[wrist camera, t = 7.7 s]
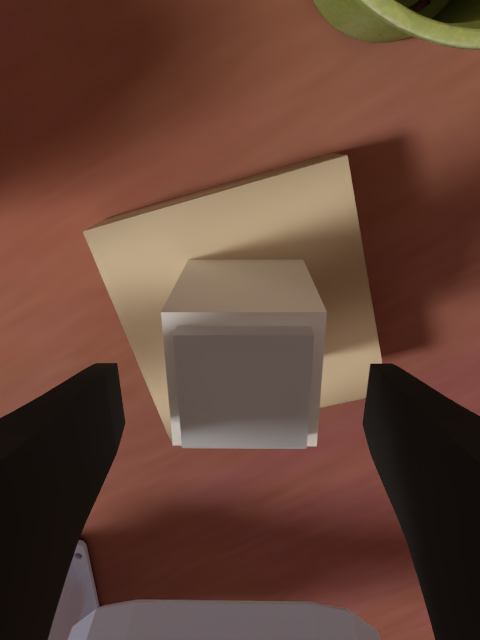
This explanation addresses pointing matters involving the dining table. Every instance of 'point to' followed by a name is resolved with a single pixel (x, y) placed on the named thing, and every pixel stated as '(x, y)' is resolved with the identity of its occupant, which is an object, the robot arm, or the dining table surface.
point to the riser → (241, 244)
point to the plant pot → (406, 20)
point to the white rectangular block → (244, 354)
